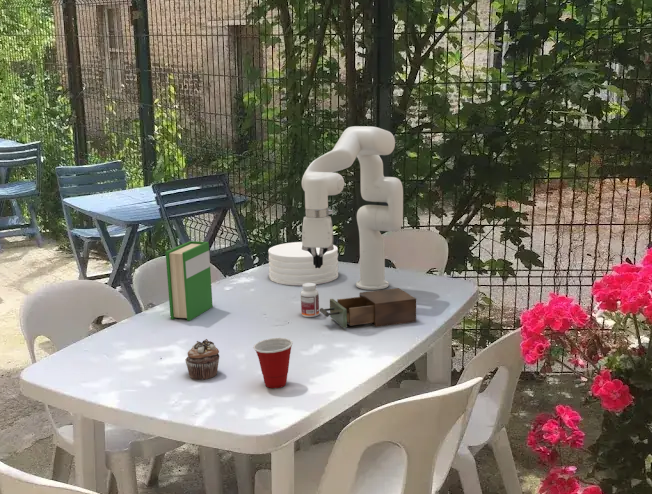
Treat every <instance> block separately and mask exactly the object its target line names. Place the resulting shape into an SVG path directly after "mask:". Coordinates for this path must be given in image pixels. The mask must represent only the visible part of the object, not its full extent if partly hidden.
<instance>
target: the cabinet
mask: <svg viewBox="0 0 652 494" xmlns="http://www.w3.org/2000/svg"><path fill="white" fill-rule="evenodd" d="M358 293H359V294H358V295H359V296H358V297H363V298H365V299H366V300H368V301H369V302H371V303H372V304H374V305H375V323H370V324H371V326H374V328H379V327H380V328H381V327H387V326H396V325H403V324H411V323H416V322H417V298H416V297H414V296H413V295H411V294H409V293H408V292H406V291H404V290H402V289H401V288H399V287H396V288H395V287H394V288H388V289H387V288H385V289H379V290H368V291H362V292H358Z"/></svg>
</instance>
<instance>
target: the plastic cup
mask: <svg viewBox="0 0 652 494" xmlns="http://www.w3.org/2000/svg"><path fill="white" fill-rule="evenodd" d="M293 344H294V341H293V340H292V339H290V338H288V337H287V338H286V337H271V338H267V339H263V340H261V341H258V342H256V343H255V344H254V345H253V347H252V348H253V349H254V351H255V353H256V356H257V358H258V362H259V365H260V370H261V374H262V378H263V382H264V385H265V387H267V388H269V389H279V388H283V387H285V386H286V384H287V382H288V375H289V374H288V373H289V368H290V367H289V366H290V359H291V353H292V347H293Z"/></svg>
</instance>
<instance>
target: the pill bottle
mask: <svg viewBox="0 0 652 494" xmlns="http://www.w3.org/2000/svg"><path fill="white" fill-rule="evenodd" d="M319 295H320V294H319V290H318V289H317V284H315V283H305V284H303V285H302V290H301V291H300V308H301V309H300V310H301V311H300V312H301V316H302V317H304V318H315V317H317V316H319V314H320V298H319Z"/></svg>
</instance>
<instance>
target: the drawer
mask: <svg viewBox="0 0 652 494" xmlns="http://www.w3.org/2000/svg"><path fill="white" fill-rule="evenodd" d="M319 313H321V314H322V315H323V316H325V317H326V318H328V317H329V318H331V320H333V321H334V322H336V323H337V324H338V325H339V326H340V327H342V328H343V329H346V328H348V325H349V326H351V327H352V326H358V325H366V324H371V323H375V305H374V304H372V303H371V302H369V301H368V300H366V299H365V298H363V297H359V296H354V297H346V298H337V300H335V299H334V298H329V307H328V308H323V307H321V308H320V307H319Z"/></svg>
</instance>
